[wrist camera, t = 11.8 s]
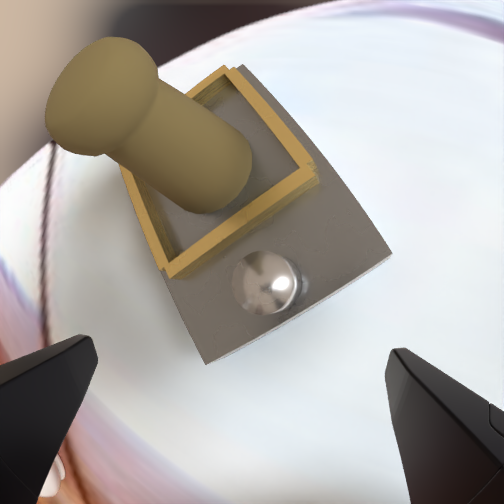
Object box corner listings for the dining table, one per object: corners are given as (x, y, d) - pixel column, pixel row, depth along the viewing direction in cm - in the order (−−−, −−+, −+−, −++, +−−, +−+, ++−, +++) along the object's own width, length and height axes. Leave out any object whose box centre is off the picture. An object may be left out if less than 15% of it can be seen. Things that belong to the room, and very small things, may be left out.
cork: (159, 158, 20) (31, 88, 10) (230, 109, 19) (121, -3, 9) (184, 232, 19) (23, 181, 9) (269, 180, 17) (139, 60, 7)
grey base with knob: (389, 258, 16) (395, 248, 12) (224, 357, 20) (186, 372, 15) (255, 82, 21) (231, 47, 17) (140, 175, 24) (102, 157, 20)
